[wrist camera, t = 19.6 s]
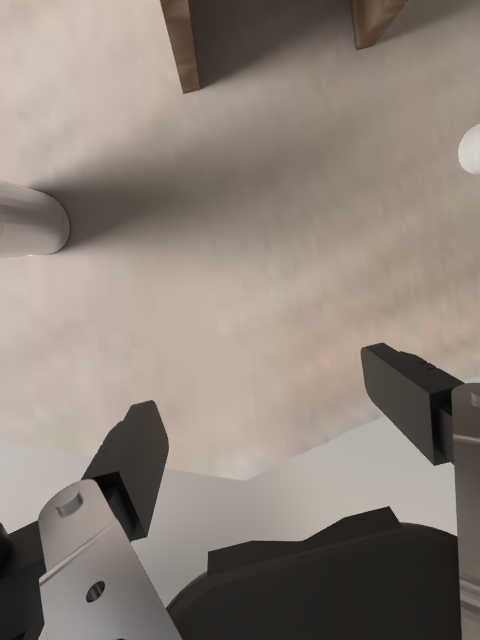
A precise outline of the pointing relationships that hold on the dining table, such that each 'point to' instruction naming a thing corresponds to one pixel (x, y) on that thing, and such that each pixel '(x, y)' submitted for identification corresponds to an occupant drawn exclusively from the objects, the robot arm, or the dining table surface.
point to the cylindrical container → (470, 150)
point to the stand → (368, 23)
